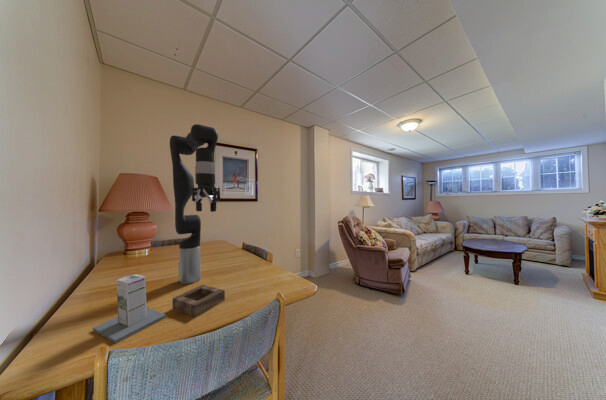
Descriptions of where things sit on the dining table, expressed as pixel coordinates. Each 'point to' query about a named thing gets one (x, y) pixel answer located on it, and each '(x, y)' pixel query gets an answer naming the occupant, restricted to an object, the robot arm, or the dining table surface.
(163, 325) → the dining table surface
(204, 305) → the socket block
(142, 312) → the syrup box
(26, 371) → the dining table surface
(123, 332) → the mat
